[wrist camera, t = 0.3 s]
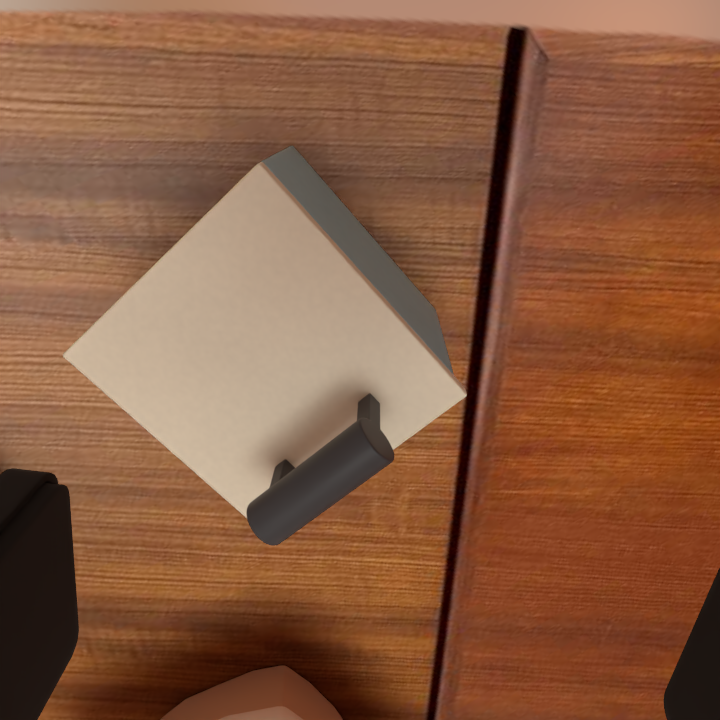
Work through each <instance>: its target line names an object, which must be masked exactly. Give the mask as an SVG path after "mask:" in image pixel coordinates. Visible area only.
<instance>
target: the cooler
mask: <svg viewBox="0 0 720 720" xmlns="http://www.w3.org/2000/svg"><path fill="white" fill-rule="evenodd" d="M261 162H263V163H264V164H265V165H266V166H267V167H268V168H269V169H270V170H271V172H272V173H273V174H274V175H275V176H276V177H277V178H278V179H279V180H280V182H281V183H282V184H283V185H284V186H285V187H286V188H287V189H288V191H289V192H290V193H291V194H292V195H293V196H294V197H295V198H296V199H297V201H298V202H299V203H300V204H301V205H302V206H303V207H304V208H305V210H306V211H307V212H308V213H309V214H310V215H311V216H312V217H313V218H314V220H315V221H316V222H317V223H318V224H319V225H320V226H321V227H322V229H323V230H324V231H325V232H326V233H327V234H328V235H329V236H330V237H331V239H332V240H333V241H334V242H335V243H336V244H337V245H338V246H339V248H340V249H341V250H342V251H343V252H344V253H345V254H346V255H347V256H348V258H349V259H350V260H351V261H352V262H353V263H354V264H355V265H356V267H357V268H358V269H359V270H360V271H361V272H362V273H363V274H364V275H365V277H366V278H367V279H368V280H369V281H370V282H371V283H372V284H373V285H374V287H375V288H376V289H377V290H378V291H379V292H380V293H381V294H382V296H383V297H384V298H385V299H386V300H387V301H388V302H389V303H390V304H391V306H392V307H393V308H394V309H395V310H396V311H397V312H398V313H399V315H400V316H401V317H402V318H403V319H404V320H405V321H406V322H407V323H408V325H409V326H410V327H411V328H412V329H413V330H414V331H415V332H416V334H417V335H418V336H419V337H420V338H421V339H422V340H423V341H424V342H425V344H426V345H427V346H428V347H429V348H430V349H431V350H432V351H433V353H434V354H435V355H436V356H437V357H438V358H439V359H440V360H441V361H442V363H443V364H444V365H445V366H446V367H447V368H448V369H449V370H450V372H451V373H452V374H453V370H452V367H451V363H450V360H449V356H448V352H447V349H446V345H445V341H444V338H443V334H442V331H441V327H440V323H439V320H438V316H437V313H436V310H435V308H434V307H433V306H432V305H431V304H430V303H429V302H428V300H427V299H426V298H425V297H424V296H423V295H422V293H421V292H420V291H419V290H418V289H417V288H416V287H415V285H414V284H413V283H412V282H411V281H410V280H409V279H408V277H407V276H406V275H405V274H404V273H403V272H402V270H401V269H400V268H399V267H398V266H397V265H396V264H395V262H394V261H393V260H392V259H391V258H390V257H389V256H388V254H387V253H386V252H385V251H384V250H383V249H382V247H381V246H380V245H379V244H378V243H377V242H376V241H375V239H374V238H373V237H372V236H371V235H370V234H369V233H368V231H367V230H366V229H365V228H364V227H363V226H362V224H361V223H360V222H359V221H358V220H357V219H356V218H355V216H354V215H353V214H352V213H351V212H350V211H349V210H348V208H347V207H346V206H345V205H344V204H343V203H342V202H341V200H340V199H339V198H338V197H337V196H336V195H335V193H334V192H333V191H332V190H331V189H330V188H329V187H328V185H327V184H326V183H325V182H324V181H323V180H322V179H321V177H320V176H319V175H318V174H317V173H316V172H315V170H314V169H313V168H312V167H311V166H310V165H309V164H308V162H307V161H306V160H305V159H304V158H303V157H302V156H301V154H300V153H299V152H298V151H297V150H296V149H295V147H294V146H290V147H288V148H286V149H284V150H282V151H280V152H278V153H276V154H274V155H272V156H271V157H269V158H267V159H265V160H263V161H261Z"/></svg>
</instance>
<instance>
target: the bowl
mask: <svg viewBox="0 0 720 720" xmlns="http://www.w3.org/2000/svg"><path fill="white" fill-rule="evenodd" d="M160 720H343V719H342V717H341V716H340V715H339V713H338V712H337V710H336V709H335V707H334V706H333V705H332V704H331V703H330V702H329V701H328V700H327V699H326V698H325V697H324V696H323V695H322V694H321V693H320V692H319V691H318V690H317V689H316V688H315V687H314V686H313V685H312V684H311V683H310V682H308V681H307V680H305V679H304V678H303V677H301V676H300V675H298V674H297V673H296V672H294V671H293V670H291V669H290V668H289V667H287V666H283V665H281V666H276V667H270V668H265V669H260V670H254V671H251V672H249V673H246V674H244V675H241V676H239V677H236V678H234V679H231V680H229V681H226V682H224V683H222V684H219V685H217V686H214V687H212V688H210V689H208V690H205V691H203V692H201V693H198V694H196V695H194V696H191V697H189V698H187V699H185V700H184V701H183V702H181V703H180V704H179V705H177V706H176V707H175V708H173V709H172V710H171V711H170V712H168V713H167V714H166V715H165V716H164V717H163V718H162V719H160Z"/></svg>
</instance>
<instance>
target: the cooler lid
mask: <svg viewBox="0 0 720 720" xmlns="http://www.w3.org/2000/svg"><path fill="white" fill-rule="evenodd" d="M63 357H64V358H65V359H67V360H68V361H69V362H70V363H71V364H72V365H73V366H74V367H76V368H77V369H78V370H79V371H80V372H81V373H82V374H84V375H85V376H86V377H87V378H88V379H89V380H90V381H92V382H93V383H94V384H95V385H96V386H97V387H98V388H99V389H101V390H102V391H103V392H104V393H105V394H106V395H107V396H109V397H110V398H111V399H112V400H113V401H114V402H115V403H116V404H118V405H119V406H120V407H121V408H122V409H123V410H124V411H126V412H127V413H128V414H129V415H130V416H131V417H132V418H134V419H135V420H136V421H137V422H138V423H139V424H140V425H141V426H143V427H144V428H145V429H146V430H147V431H148V432H149V433H151V434H152V435H153V436H154V437H155V438H156V439H157V440H159V441H160V442H161V443H162V444H163V445H164V446H165V447H166V448H168V449H169V450H170V451H171V452H172V453H173V454H174V455H176V456H177V457H178V458H179V459H180V460H181V461H182V462H183V463H185V464H186V465H187V466H188V467H189V468H190V469H191V470H193V471H194V472H195V473H196V474H197V475H198V476H199V477H201V478H202V479H203V480H204V481H205V482H206V483H207V484H208V485H210V486H211V487H212V488H213V489H214V490H215V491H216V492H218V493H219V494H220V495H221V496H222V497H223V498H224V499H226V500H227V501H228V502H229V503H230V504H231V505H232V506H233V507H235V508H236V509H237V510H238V511H239V512H240V513H241V514H243V515H244V516H245V517H246V518H247V519H248V522H249V525H250V527H251V529H252V530H253V532H254V533H255V534H256V536H257V537H258V538H259V539H260V540H262V541H263V542H264V543H266V544H269V545H278V544H280V543H281V542H283V541H284V540H285V539H287V538H288V537H289V536H291V535H292V534H294V533H295V532H296V531H298V530H299V529H300V528H302V527H303V526H305V525H306V524H307V523H309V522H310V521H311V520H313V519H314V518H316V517H317V516H318V515H320V514H321V513H322V512H324V511H325V510H327V509H328V508H329V507H331V506H332V505H334V504H335V503H336V502H338V501H339V500H340V499H342V498H343V497H345V496H346V495H347V494H349V493H350V492H351V491H353V490H354V489H356V488H357V487H358V486H360V485H361V484H362V483H364V482H365V481H367V480H368V479H369V478H371V477H372V476H373V475H375V474H376V473H378V472H379V471H380V470H382V469H383V468H384V467H386V466H387V465H389V464H390V463H391V462H392V461H393V460H394V452H393V450H394V449H395V448H396V447H398V446H399V445H400V444H402V443H403V442H405V441H406V440H407V439H409V438H410V437H411V436H413V435H414V434H415V433H417V432H418V431H420V430H421V429H422V428H424V427H425V426H426V425H428V424H429V423H430V422H432V421H433V420H435V419H436V418H437V417H439V416H440V415H441V414H443V413H444V412H445V411H447V410H448V409H450V408H451V407H452V406H454V405H455V404H456V403H458V402H459V401H460V400H462V399H463V398H465V397H466V396H467V393H466V390H465V387H464V386H463V385H462V384H461V383H460V382H459V380H458V379H457V378H456V377H455V376H454V375H453V374H452V373H451V372H450V370H449V369H448V368H447V367H446V366H445V365H444V364H443V363H442V361H441V360H440V359H439V358H438V357H437V356H436V355H435V354H434V353H433V351H432V350H431V349H430V348H429V347H428V346H427V345H426V344H425V342H424V341H423V340H422V339H421V338H420V337H419V336H418V335H417V334H416V332H415V331H414V330H413V329H412V328H411V327H410V326H409V325H408V323H407V322H406V321H405V320H404V319H403V318H402V317H401V316H400V315H399V313H398V312H397V311H396V310H395V309H394V308H393V307H392V306H391V304H390V303H389V302H388V301H387V300H386V299H385V298H384V297H383V296H382V294H381V293H380V292H379V291H378V290H377V289H376V288H375V287H374V285H373V284H372V283H371V282H370V281H369V280H368V279H367V278H366V277H365V275H364V274H363V273H362V272H361V271H360V270H359V269H358V268H357V267H356V265H355V264H354V263H353V262H352V261H351V260H350V259H349V258H348V256H347V255H346V254H345V253H344V252H343V251H342V250H341V249H340V248H339V246H338V245H337V244H336V243H335V242H334V241H333V240H332V239H331V237H330V236H329V235H328V234H327V233H326V232H325V231H324V230H323V229H322V227H321V226H320V225H319V224H318V223H317V222H316V221H315V220H314V218H313V217H312V216H311V215H310V214H309V213H308V212H307V211H306V210H305V208H304V207H303V206H302V205H301V204H300V203H299V202H298V201H297V199H296V198H295V197H294V196H293V195H292V194H291V193H290V192H289V191H288V189H287V188H286V187H285V186H284V185H283V184H282V183H281V182H280V180H279V179H278V178H277V177H276V176H275V175H274V174H273V173H272V172H271V170H270V169H269V168H268V167H267V166H266V165H265V164H264V163H263V162H260V163H258V164H256V165H255V166H254V167H253V168H252V169H251V170H250V171H249V172H248V173H247V174H246V175H245V176H244V177H243V178H242V179H241V180H240V181H239V182H238V183H237V184H236V185H235V186H234V187H233V188H232V189H231V190H230V191H229V192H228V193H227V194H226V195H225V196H224V197H223V198H222V199H221V200H220V201H219V202H218V203H217V204H216V205H215V206H214V207H213V208H211V209H210V210H209V211H208V212H207V213H206V214H205V215H204V216H203V217H202V218H201V219H200V220H199V221H198V222H197V223H196V224H195V225H194V226H193V227H192V228H191V229H190V230H189V231H188V232H187V233H186V234H185V235H184V236H183V237H182V238H181V239H180V240H179V241H178V242H177V243H176V244H175V245H174V246H173V247H172V248H171V249H170V250H169V251H168V252H167V253H166V254H165V255H164V256H162V257H161V258H160V259H159V260H158V261H157V262H156V263H155V264H154V265H153V266H152V267H151V268H150V269H149V270H148V271H147V272H146V273H145V274H144V275H143V276H142V277H141V278H140V279H139V280H138V281H137V282H136V283H135V284H134V285H133V286H132V287H131V288H130V289H129V290H128V291H127V292H126V293H125V294H124V295H123V296H122V297H121V298H120V299H119V300H118V301H117V302H116V303H115V304H113V305H112V306H111V307H110V308H109V309H108V310H107V311H106V312H105V313H104V314H103V315H102V316H101V317H100V318H99V319H98V320H97V321H96V322H95V323H94V324H93V325H92V326H91V327H90V328H89V329H88V330H87V331H86V332H85V333H84V334H83V335H82V336H81V337H80V338H79V339H78V340H77V341H76V342H75V343H74V344H73V345H72V346H71V347H70V348H69V349H68V350H67V351H66V352H64V353H63Z"/></svg>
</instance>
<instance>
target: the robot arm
mask: <svg viewBox="0 0 720 720" xmlns="http://www.w3.org/2000/svg"><path fill="white" fill-rule="evenodd" d="M78 632H79V626H78V611H77V597H76V583H75V568H74V554H73V540H72V525H71V511H70V497H69V490H68V488H67V486H65V485H59V484H58V481H57V478H56V476H55V475H54V474H52V473H48V472H39V471H30V470H22V469H13V468H12V469H7V470H6V471H4V472H3V473H2V474H1V475H0V720H37V719H38V717H39V716H40V714H41V712H42V710H43V708H44V706H45V705H46V703H47V701H48V699H49V697H50V695H51V694H52V692H53V690H54V688H55V686H56V684H57V683H58V681H59V679H60V677H61V675H62V673H63V672H64V670H65V668H66V666H67V664H68V662H69V661H70V659H71V657H72V655H73V652H74V650H75V647H76V643H77V639H78ZM664 709H665V714H666V717H667V720H720V568H719V570H718V573H717V575H716V577H715V579H714V582H713V584H712V586H711V588H710V591H709V593H708V595H707V598H706V600H705V602H704V604H703V607H702V609H701V611H700V613H699V616H698V618H697V620H696V622H695V625H694V627H693V629H692V632H691V634H690V636H689V638H688V641H687V643H686V645H685V647H684V650H683V652H682V654H681V656H680V659H679V661H678V663H677V666H676V668H675V670H674V672H673V675H672V677H671V679H670V681H669V684H668V686H667V688H666V691H665V694H664Z"/></svg>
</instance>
